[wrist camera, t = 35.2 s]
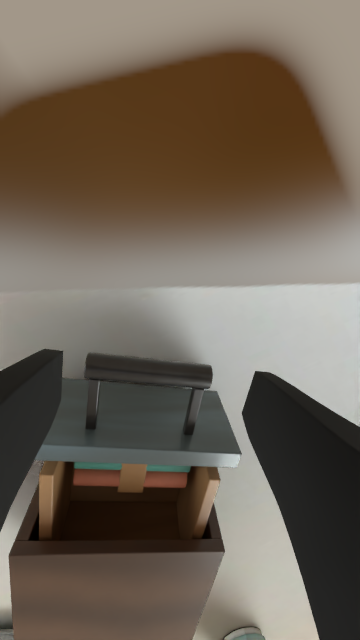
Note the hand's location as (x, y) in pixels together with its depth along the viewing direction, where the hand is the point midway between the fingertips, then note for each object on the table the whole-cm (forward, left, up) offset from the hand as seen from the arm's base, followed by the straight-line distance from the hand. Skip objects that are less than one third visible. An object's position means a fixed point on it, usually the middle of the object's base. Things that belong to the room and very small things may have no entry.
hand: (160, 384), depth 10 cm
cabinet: (0, -21, -10) cm, 24 cm away
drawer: (0, -10, -9) cm, 14 cm away
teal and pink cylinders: (0, -11, -8) cm, 14 cm away
